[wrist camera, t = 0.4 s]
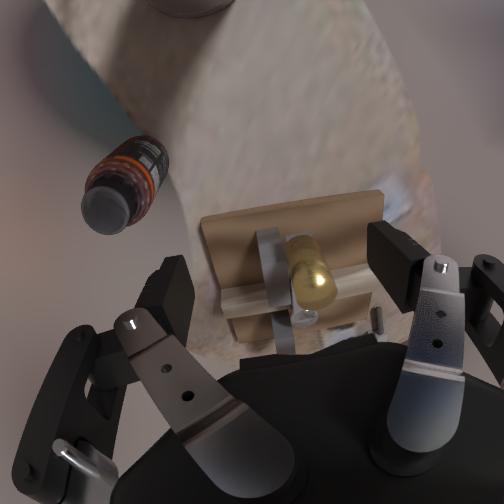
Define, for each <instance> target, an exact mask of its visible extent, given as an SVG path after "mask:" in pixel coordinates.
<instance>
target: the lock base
mask: <svg viewBox="0 0 504 504" xmlns="http://www.w3.org/2000/svg"><path fill="white" fill-rule="evenodd" d="M383 207H384V194H383V193H382V192H381V191H380V190H371V191H363V192H355V193H348V194H340V195H333V196H326V197H319V198H312V199H306V200H299V201H293V202H287V203H280V204H274V205H268V206H262V207H257V208H251V209H245V210H240V211H234V212H229V213H223V214H218V215H213V216H207V217H202V220H201V226H202V230H203V233H204V236H205V240H206V243H207V246H208V250H209V253H210V256H211V259H212V263H213V266H214V269H215V272H216V275H217V278H218V282H219V285H220V288H221V308H222V311H223V314H224V317H225V319H229V318H231V321H232V324H233V327H234V330H235V333H236V336H237V339H238V342H239V343H246V342H253V341H259V340H266V339H272V338H274V339H275V345H276V350H277V354H286V355H295V342H294V335H295V334H300V333H305V332H310V331H315V330H320V329H325V328H330V327H334V326H339V325H343V324H348V323H352V322H356V321H360V320H364V319H367V315H368V311H369V306H370V301H371V295H372V292H373V291H377V290H381V289H384V287H383V286H382V284H381V283H380V281H379V280H378V279H377V277H376V276H375V275H374V273H373V272H372V271H371V269H370V268H369V266H368V262H367V225H368V223H370V222H377V221H382V218H383ZM309 231H311V234H312V236H313V238H314V239H315V240H316V241H317V243H318V245H319V248H320V250H321V252H322V254H323V257H324V259H325V261H326V263H327V266H328V268H329V270H330V273H331V275H332V277H333V280H334V282H335V284H336V287H337V290H338V293H337V296H336V298H335V300H334V301H333V302H332V303H331V304H330V305H328V306H327V307H325V308H323V309H320V310H317V313H318V320H317V321H316V323H314V324H313V325H311V326H309V327H306V328H297V327H294V326H293V325H292V323H291V319H290V315H289V313H290V310H291V309H292V299H291V288H290V278H289V270H288V266H287V263H286V259H285V255H284V247H285V245H286V240H285V235H291V234H297V233H303V232H309Z"/></svg>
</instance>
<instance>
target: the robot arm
mask: <svg viewBox="0 0 504 504" xmlns="http://www.w3.org/2000/svg"><path fill="white" fill-rule="evenodd" d="M147 1H148V2H149V3H151V4H152V5H153V6H154V7H156V8H157V9H158V10H160V11H161V12H163V13H165V14H168V15H170V16H174V17H179V18H196V17H203V16H206V15H210V14H213V13H215V12H217V11H219V10H221V9H223V8H224V7H226V6H227V5H229V4H230V3H231V2H232V1H233V0H147ZM367 262H368V266H369V268H370V269H371V271H372V272H373V273H374V275H375V276H376V277H377V279H378V280H379V281H380V283H381V284H382V286H383V287H384V288H385V290H386V291H387V292H388V294H389V295H390V297H391V298H392V299H393V301H394V302H395V304H396V305H397V307H398V308H399V309H400V311H401V312H402V314H404V313H407V312H411V311H414V312H415V313H414V317H413V322H412V326H411V330H410V335H409V339H408V342H407V346H405V345H402V344H398V343H393V342H377V340H376V338H375V336H374V334H373V333H371V334H367V335H363V336H359V337H355V338H351V339H347V340H343V341H340V342H338V343H336V344H334V345H331V346H329V347H327V348H325V349H322V350H320V351H318V352H315V353H313V354H309V355H286V354H272V355H265V356H259V357H252V358H245V359H240V369H239V370H236V371H234V372H232V373H229V374H227V375H225V376H224V377H222V378H220V379H219V380H217V381H216V380H215V379H214V378H213V377H212V376H211V375H210V374H209V373H208V372H207V371H206V370H205V369H204V368H203V366H202V365H201V364H200V363H198V361H197V360H196V359H195V358H194V357H193V356H192V355H191V354H190V353H189V352H188V351H187V350H186V348H185V347H186V342H187V336H188V331H189V325H190V320H191V315H192V310H193V305H194V300H195V292H194V287H193V283H192V280H191V277H190V274H189V271H188V268H187V265H186V261H185V259H184V257H183V255H177V256H171V257H165V259H164V261H163V263H162V265H161V267H160V269H159V270H156V271H155V272H154V273H153V274H151V276H149V277H148V279H147V281H146V283H145V286H144V288H143V290H142V292H141V294H140V296H139V298H138V300H137V303H136V305H135V307H134V309H130V310H128V311H126V312H124V313H122V314H121V315H120V316H119V317H118V318H117V319H116V320H115V322H114V329H112V330H109V331H106V332H103V333H99V334H97V333H96V332H95V330H94V328H93V327H92V326H90V325H81V326H79V327H76V328H74V329H73V330H71V331H70V332H69V333H68V334H67V336H66V337H65V339H64V340H63V343H62V345H61V347H60V348H59V350H58V352H57V354H56V356H55V358H54V360H53V362H52V364H51V366H50V369H49V371H48V373H47V375H46V377H45V379H44V382H43V384H42V386H41V389H40V391H39V393H38V395H37V398H36V400H35V403H34V405H33V408H32V410H31V413H30V415H29V418H28V421H27V424H26V426H25V429H24V432H23V434H22V437H21V440H20V443H19V447H18V450H17V453H16V456H15V460H14V463H13V467H12V480H13V483H14V485H15V487H16V488H17V489H18V491H20V492H21V493H23V494H24V495H26V496H28V497H30V498H32V499H33V500H35V501H37V502H39V503H40V504H504V321H503V324H502V326H501V325H500V324H499V322H498V321H497V320H496V319H495V317H494V316H493V315H492V314H491V313H490V309H491V307H492V304H493V301H494V300H495V301H496V303H497V304H498V305H499V306H500V307H501V308H502V310H503V313H504V264H503V263H502V262H501V261H500V260H498V259H496V258H495V257H493V256H490V255H486V254H481V255H477V256H476V257H475V258H474V261H473V266H472V267H458V265H457V263H456V262H455V261H454V260H453V259H451V258H449V257H447V256H443V255H431V254H430V253H429V252H427V251H426V250H425V249H424V248H423V247H422V246H421V245H419V244H418V243H417V242H416V241H415V240H413V239H412V238H411V237H410V236H409V235H408V234H406V233H405V232H402V231H400V230H398V229H395V228H394V227H392V226H391V225H390V224H389V223H388V222H386V221H385V220H383V221H377V222H370V223H368V225H367ZM465 331H466V333H467V334H468V336H469V337H470V339H471V340H472V342H473V343H474V344H475V346H476V347H477V349H478V351H479V352H480V354H481V355H482V357H483V358H484V360H485V362H486V363H487V365H488V366H489V368H490V370H491V371H492V373H493V374H494V376H495V378H496V380H497V381H498V383H499V385H500V388H498V387H496V386H494V385H491V384H489V383H487V382H485V381H483V380H480V379H478V378H476V377H474V376H471V375H469V374H467V373H465V372H462V367H463V355H464V335H465ZM87 379H89V380H90V382H91V383H92V384H91V387H90V390H89V394H88V397H87V399H86V397H85V393H84V388H85V384H86V382H87ZM137 381H141V382H142V384H143V385H144V387H145V389H146V390H147V392H148V394H149V395H150V397H151V398H152V400H153V402H154V403H155V405H156V406H157V407H158V409H159V411H160V412H161V413H162V415H163V417H164V418H165V420H166V421H167V422H168V424H169V425H170V427H171V428H170V429H169V430H168V431H167V432H166V433H165V434H164V435H163V436H162V437H161V438H160V439H159V440H158V441H157V442H156V443H155V444H154V445H153V446H152V447H151V448H150V449H149V450H148V451H147V452H146V453H145V454H144V455H143V456H142V457H141V458H140V459H139V460H138V461H136V462H135V463H134V464H133V465H132V466H131V467H130V468H129V469H128V470H127V471H126V472H125V473H124V474H123V475H122V476H121V477H120V478H119V477H118V469H117V466H116V465H115V463H114V462H113V461H112V457H113V451H114V445H115V440H116V434H117V429H118V424H119V419H120V414H121V410H122V405H123V401H124V396H125V392H126V387H127V384H130V383H134V382H137Z"/></svg>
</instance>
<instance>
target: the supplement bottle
mask: <svg viewBox="0 0 504 504" xmlns="http://www.w3.org/2000/svg"><path fill="white" fill-rule="evenodd" d="M168 167H169V158H168V154H167V151H166V150H165V148H164V147H163V145H162V144H161V143H160V142H159V141H157V140H156V139H154V138H152V137H149V136H136V137H133V138H130V139H128V140H127V141H125V142H124V143H123V144H121V145H120V146H119V147H118V148H116V149H115V150H114V151H113V152H112V153H110V154H109V155H108V156H107V157H106V158H105V159H103V160H102V161H101V162H100V163H99V164H98V165H96V166H95V168H94V169H93V170H92V171H91V173H90V174H89V176H88V178H87V181H86V184H85V195H84V197H83V199H82V203H81V211H82V215H83V218H84V220H85V222H86V223H87V224H88V225H89V227H91V228H92V229H93V230H95V231H96V232H98V233H101V234H105V235H113V234H117V233H119V232H121V231H122V230H123V229H125V227H127V226H131V225H133V224H135V223H137V222H138V221H139V220H141V219H142V218H143V217H144V216H145V214H146V213H147V211H148V210H149V207H150V205H151V204H152V202H153V200H154V198H155V196H156V194H157V192H158V190H159V188H160V186H161V184H162V182H163V180H164V178H165V176H166V174H167V171H168Z"/></svg>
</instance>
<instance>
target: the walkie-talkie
mask: <svg viewBox="0 0 504 504" xmlns="http://www.w3.org/2000/svg"><path fill="white" fill-rule="evenodd" d="M376 318H377V330H375V331H371V330H370V331H368V333H365V334H363V335H367V334H371V333H373V334H374V336H375V338H376V340H377V342H387V332H386V330H385V328H384V327H383V320H382V309H381V307H376ZM363 335H360V336H363ZM358 337H359V336H358ZM351 338H355V337H351ZM351 338H350V339H351Z"/></svg>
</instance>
